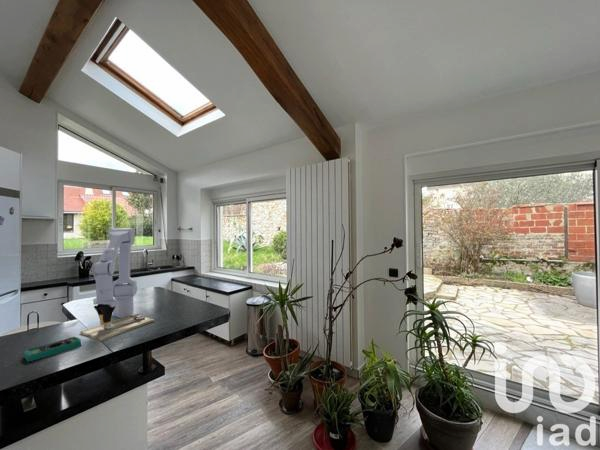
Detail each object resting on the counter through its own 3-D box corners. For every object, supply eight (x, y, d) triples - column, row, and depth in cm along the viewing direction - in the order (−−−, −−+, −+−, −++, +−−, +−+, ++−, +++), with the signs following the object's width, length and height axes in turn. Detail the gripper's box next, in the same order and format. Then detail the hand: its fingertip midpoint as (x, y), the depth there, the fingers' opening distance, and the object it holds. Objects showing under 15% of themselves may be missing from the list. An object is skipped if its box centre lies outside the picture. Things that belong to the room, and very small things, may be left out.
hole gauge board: (80, 333, 112) (80, 325, 112) (133, 316, 131) (133, 309, 131) (100, 340, 104) (100, 331, 104) (153, 321, 124) (153, 313, 124)
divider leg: (100, 329, 112) (99, 314, 112) (108, 327, 115) (107, 312, 115) (107, 332, 110) (106, 316, 110) (115, 329, 113) (115, 313, 112)
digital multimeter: (83, 346, 100) (82, 339, 100) (27, 364, 88) (27, 355, 88) (77, 342, 105) (77, 334, 105) (23, 358, 93) (23, 350, 93)
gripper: (84, 290, 113) (85, 322, 113) (103, 293, 106) (104, 327, 106) (103, 286, 119) (104, 316, 119) (121, 289, 112) (122, 321, 112)
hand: (105, 321), depth 113 cm, fingers closed on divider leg, 2 cm apart
